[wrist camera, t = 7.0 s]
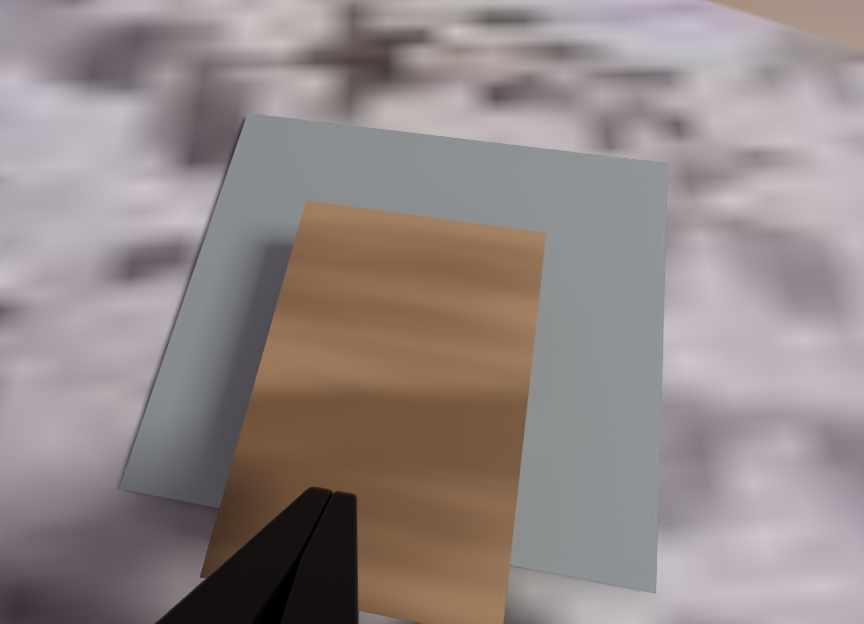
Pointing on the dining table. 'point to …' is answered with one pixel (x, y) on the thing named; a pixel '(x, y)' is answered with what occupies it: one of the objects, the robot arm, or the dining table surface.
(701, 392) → the dining table surface
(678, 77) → the dining table surface
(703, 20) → the dining table surface
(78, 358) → the dining table surface
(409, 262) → the walnut block
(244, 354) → the mat
